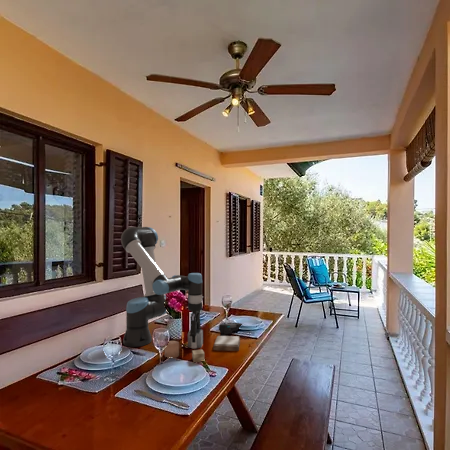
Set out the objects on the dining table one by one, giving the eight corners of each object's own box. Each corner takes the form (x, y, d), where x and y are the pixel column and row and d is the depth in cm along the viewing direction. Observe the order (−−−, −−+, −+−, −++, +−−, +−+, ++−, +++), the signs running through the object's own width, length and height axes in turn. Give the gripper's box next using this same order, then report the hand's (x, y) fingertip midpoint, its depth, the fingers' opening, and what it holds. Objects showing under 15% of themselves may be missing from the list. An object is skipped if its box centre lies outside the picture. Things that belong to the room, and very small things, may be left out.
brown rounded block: (162, 358, 150) (162, 345, 150) (167, 352, 157) (167, 340, 157) (177, 358, 149) (176, 346, 149) (180, 353, 156) (180, 341, 156)
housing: (187, 347, 163) (187, 332, 163) (190, 343, 169) (190, 328, 169) (200, 347, 162) (200, 332, 163) (202, 343, 168) (202, 328, 169)
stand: (213, 350, 159) (213, 344, 159) (216, 340, 172) (216, 335, 172) (238, 350, 158) (238, 345, 158) (240, 341, 171) (240, 336, 171)
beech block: (193, 363, 144) (193, 354, 144) (192, 358, 149) (192, 350, 149) (204, 361, 146) (204, 353, 146) (202, 357, 150) (202, 349, 151)
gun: (216, 337, 177) (219, 319, 180) (234, 339, 192) (237, 322, 195) (223, 338, 174) (226, 320, 177) (240, 340, 190) (243, 323, 193)
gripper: (198, 307, 155) (199, 352, 155) (205, 298, 176) (205, 338, 176) (183, 307, 156) (184, 352, 156) (192, 297, 177) (192, 337, 176)
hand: (195, 344), depth 166 cm, fingers open, 8 cm apart
